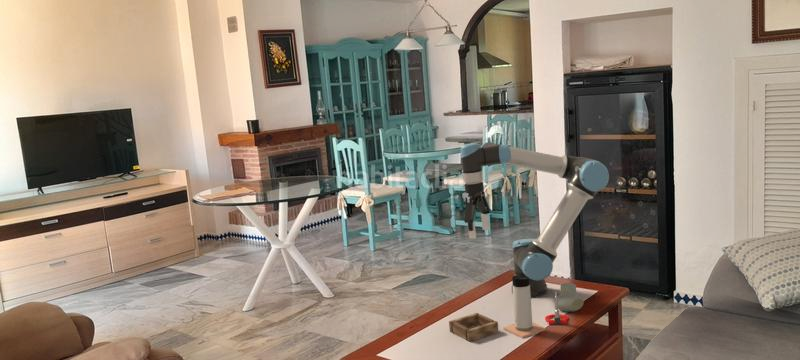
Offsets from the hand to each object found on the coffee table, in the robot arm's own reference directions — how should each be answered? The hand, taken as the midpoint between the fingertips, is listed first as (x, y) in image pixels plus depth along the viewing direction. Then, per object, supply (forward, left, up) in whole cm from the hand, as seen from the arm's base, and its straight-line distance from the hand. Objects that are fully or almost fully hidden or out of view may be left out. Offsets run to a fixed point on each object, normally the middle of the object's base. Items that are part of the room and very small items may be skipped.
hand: (479, 233), depth 260 cm
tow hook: (-11, +30, -31) cm, 45 cm away
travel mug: (+4, +29, -31) cm, 42 cm away
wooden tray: (+19, +18, -31) cm, 40 cm away
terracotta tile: (+4, +29, -31) cm, 43 cm away
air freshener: (-23, +25, -31) cm, 46 cm away
